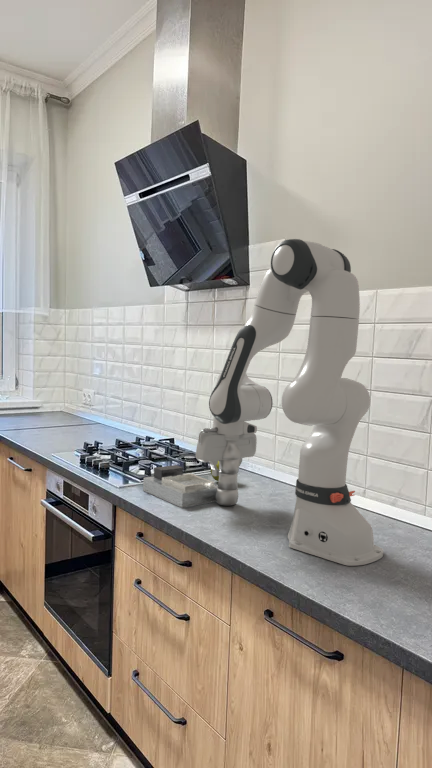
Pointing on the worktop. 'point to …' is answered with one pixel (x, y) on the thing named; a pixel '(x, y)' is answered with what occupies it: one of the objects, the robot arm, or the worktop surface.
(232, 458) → the plastic bottle
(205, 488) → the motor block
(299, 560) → the worktop surface
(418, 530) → the worktop surface
